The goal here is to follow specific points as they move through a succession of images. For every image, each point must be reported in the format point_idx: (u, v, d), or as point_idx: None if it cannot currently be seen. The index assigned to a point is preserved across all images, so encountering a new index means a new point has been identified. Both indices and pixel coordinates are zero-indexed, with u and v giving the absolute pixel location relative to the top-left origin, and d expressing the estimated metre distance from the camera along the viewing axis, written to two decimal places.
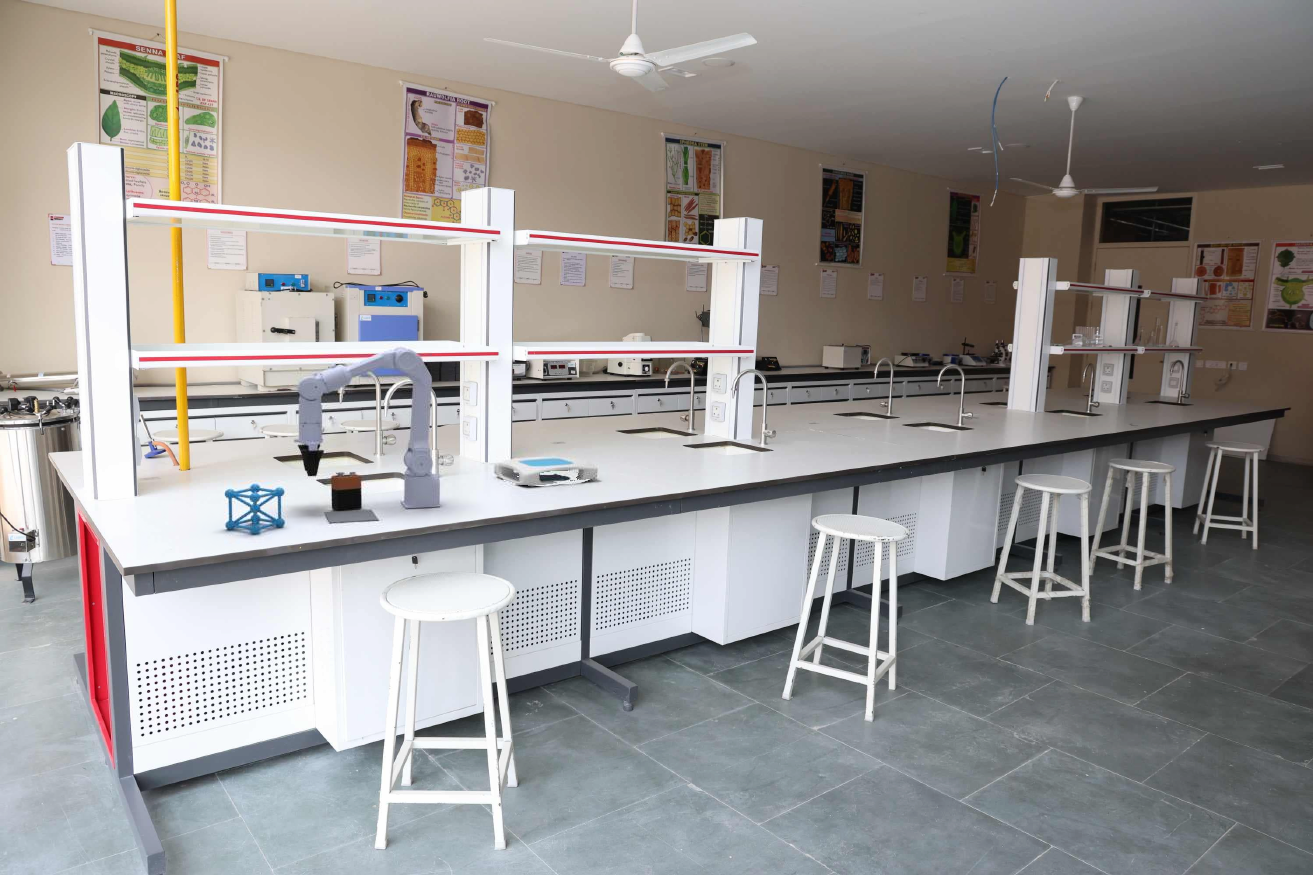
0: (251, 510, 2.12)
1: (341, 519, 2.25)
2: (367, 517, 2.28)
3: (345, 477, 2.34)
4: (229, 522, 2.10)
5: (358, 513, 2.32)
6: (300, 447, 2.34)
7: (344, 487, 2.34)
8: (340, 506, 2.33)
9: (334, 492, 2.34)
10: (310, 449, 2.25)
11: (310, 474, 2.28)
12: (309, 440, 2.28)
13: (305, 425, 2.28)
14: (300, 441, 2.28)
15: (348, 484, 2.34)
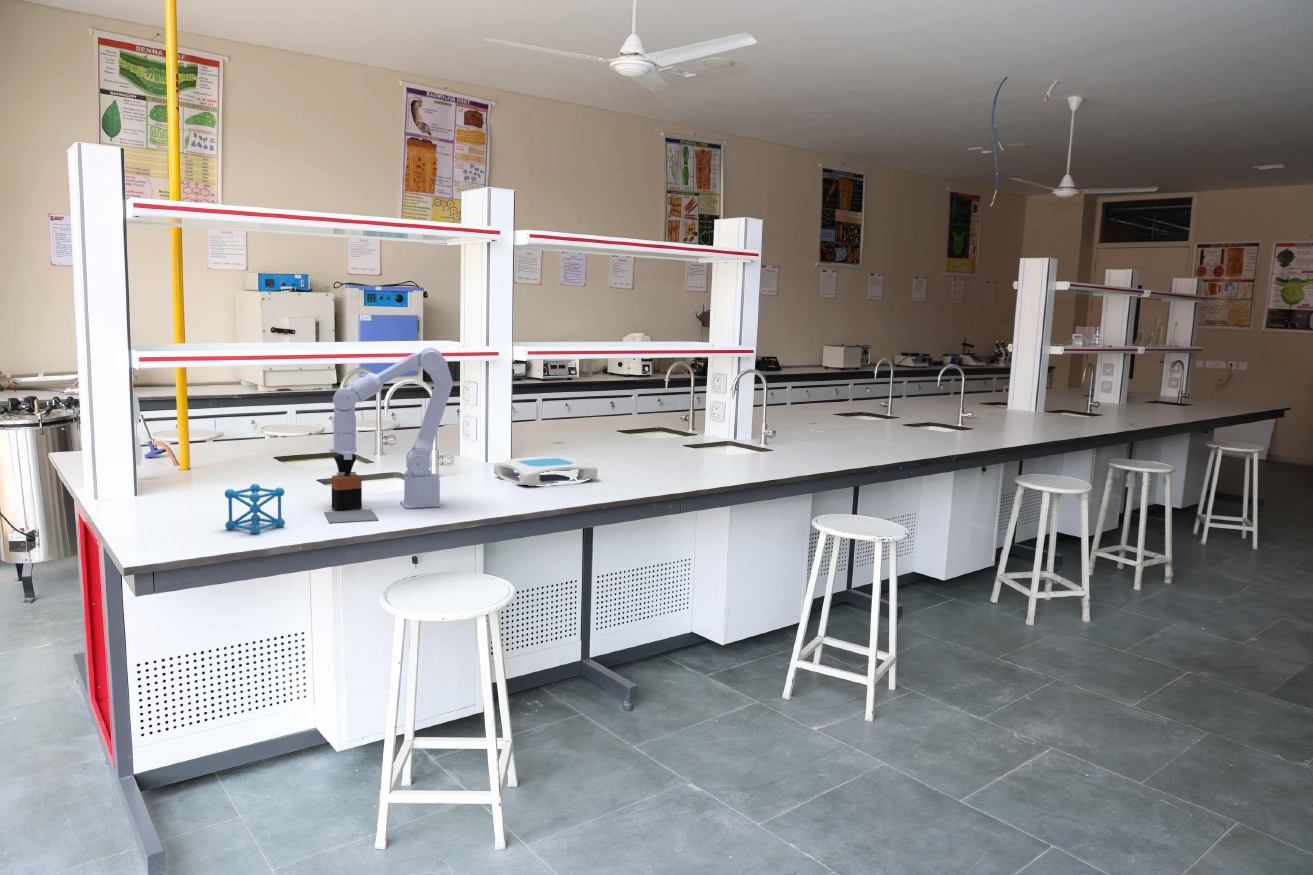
0: (251, 510, 2.12)
1: (341, 519, 2.25)
2: (367, 517, 2.28)
3: (345, 477, 2.34)
4: (229, 522, 2.10)
5: (358, 513, 2.32)
6: None
7: (344, 487, 2.34)
8: (340, 506, 2.33)
9: (334, 492, 2.34)
10: (345, 458, 2.32)
11: None
12: (344, 449, 2.36)
13: (340, 435, 2.35)
14: (335, 450, 2.36)
15: (348, 484, 2.34)
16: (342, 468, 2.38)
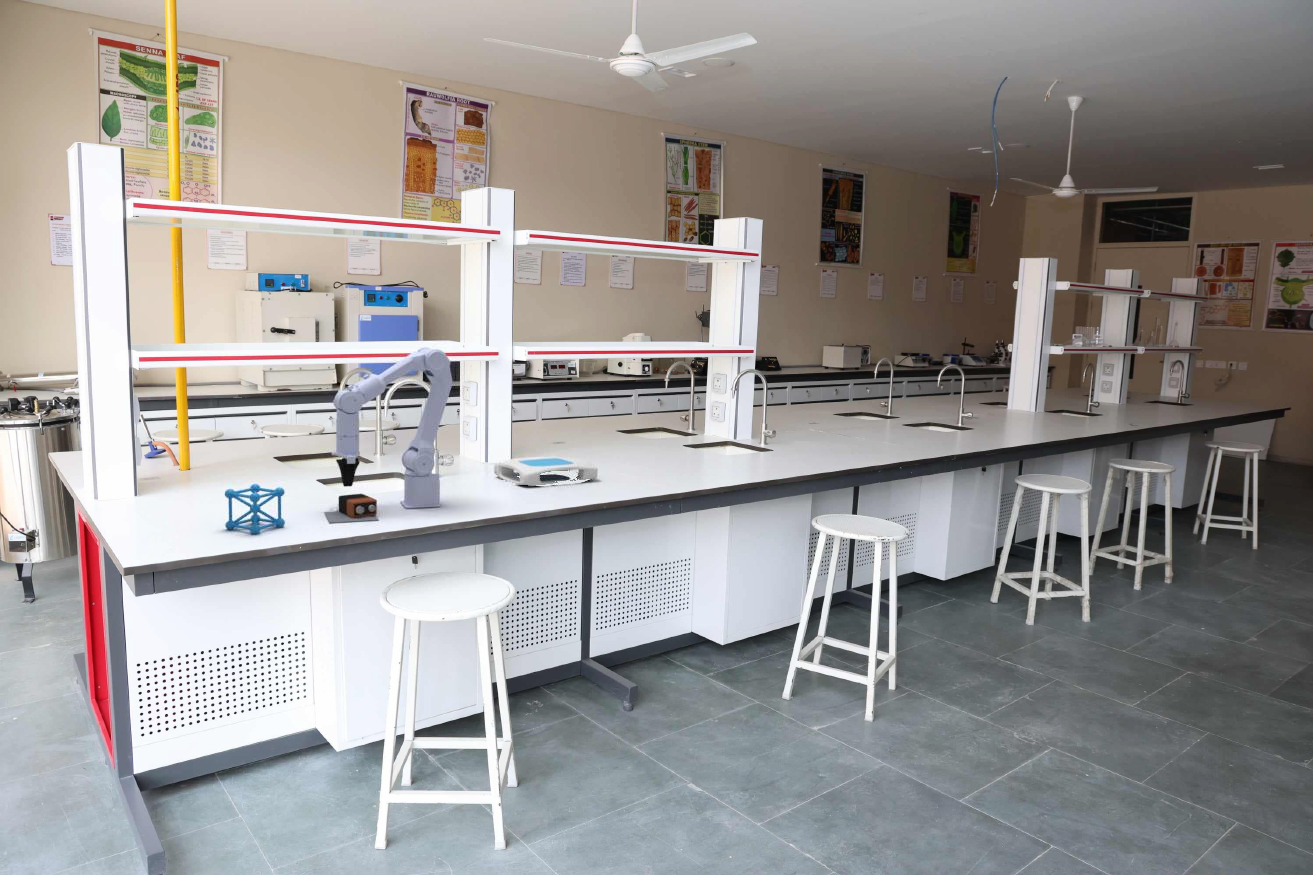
0: (251, 510, 2.12)
1: (341, 519, 2.25)
2: (367, 517, 2.28)
3: (360, 516, 2.28)
4: (229, 522, 2.10)
5: None
6: None
7: None
8: None
9: (345, 507, 2.29)
10: (348, 462, 2.27)
11: (346, 484, 2.33)
12: (347, 453, 2.30)
13: (343, 438, 2.30)
14: (338, 454, 2.30)
15: None
16: (345, 472, 2.33)
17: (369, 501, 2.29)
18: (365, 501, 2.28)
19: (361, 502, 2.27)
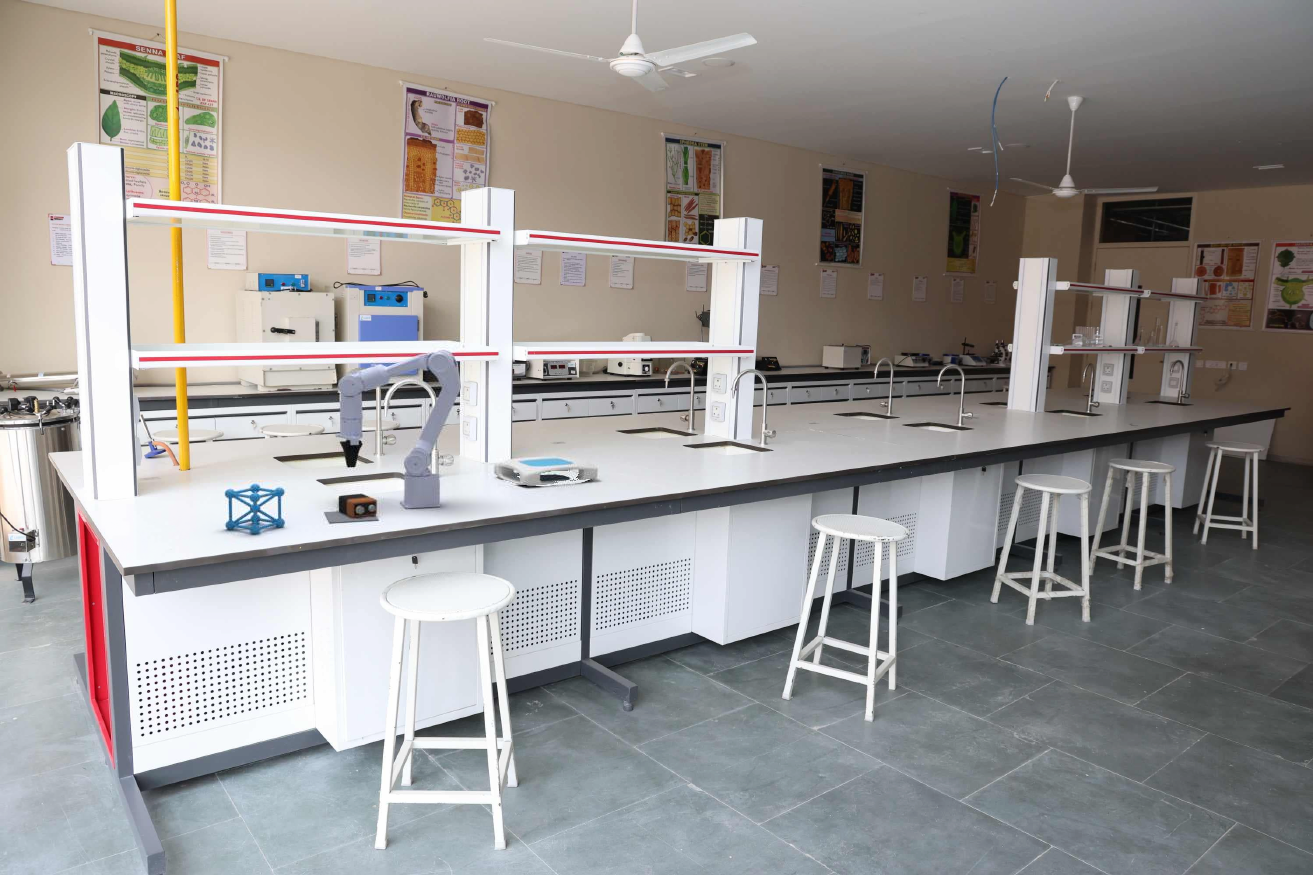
0: (251, 510, 2.12)
1: (341, 519, 2.25)
2: (367, 517, 2.28)
3: (360, 516, 2.28)
4: (229, 522, 2.10)
5: None
6: None
7: None
8: None
9: (345, 507, 2.29)
10: (352, 443, 2.35)
11: (349, 465, 2.42)
12: (350, 435, 2.38)
13: (346, 421, 2.38)
14: (341, 436, 2.39)
15: None
16: (348, 454, 2.41)
17: (369, 501, 2.29)
18: (365, 501, 2.28)
19: (361, 502, 2.27)
